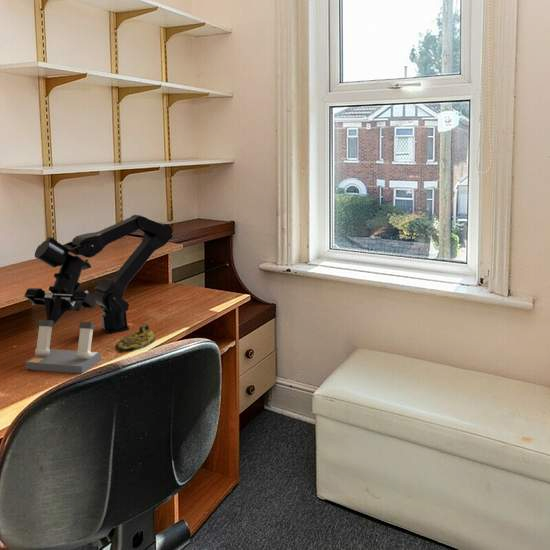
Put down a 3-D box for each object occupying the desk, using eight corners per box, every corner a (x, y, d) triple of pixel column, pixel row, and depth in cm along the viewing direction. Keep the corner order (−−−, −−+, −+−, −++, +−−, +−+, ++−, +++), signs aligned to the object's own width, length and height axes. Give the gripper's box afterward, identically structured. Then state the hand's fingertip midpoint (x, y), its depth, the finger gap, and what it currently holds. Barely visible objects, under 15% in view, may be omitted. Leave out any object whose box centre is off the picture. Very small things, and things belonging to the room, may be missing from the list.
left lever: (38, 354, 147) (43, 320, 148) (49, 355, 146) (53, 320, 148) (34, 354, 145) (39, 319, 147) (45, 355, 145) (49, 320, 146)
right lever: (79, 357, 144) (83, 322, 146) (90, 358, 144) (94, 323, 145) (75, 357, 143) (79, 321, 144) (86, 358, 142) (91, 322, 143)
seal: (138, 358, 152) (163, 337, 166) (138, 342, 150) (163, 323, 164) (107, 352, 154) (134, 332, 168) (107, 336, 152) (134, 318, 166)
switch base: (47, 355, 151) (46, 348, 151) (101, 359, 148) (100, 352, 147) (26, 369, 143) (25, 361, 142) (82, 373, 139) (81, 365, 139)
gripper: (111, 290, 161) (94, 340, 154) (54, 288, 166) (36, 336, 158) (93, 270, 152) (75, 322, 144) (33, 269, 156) (13, 319, 149)
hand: (49, 325), depth 149 cm, fingers closed
